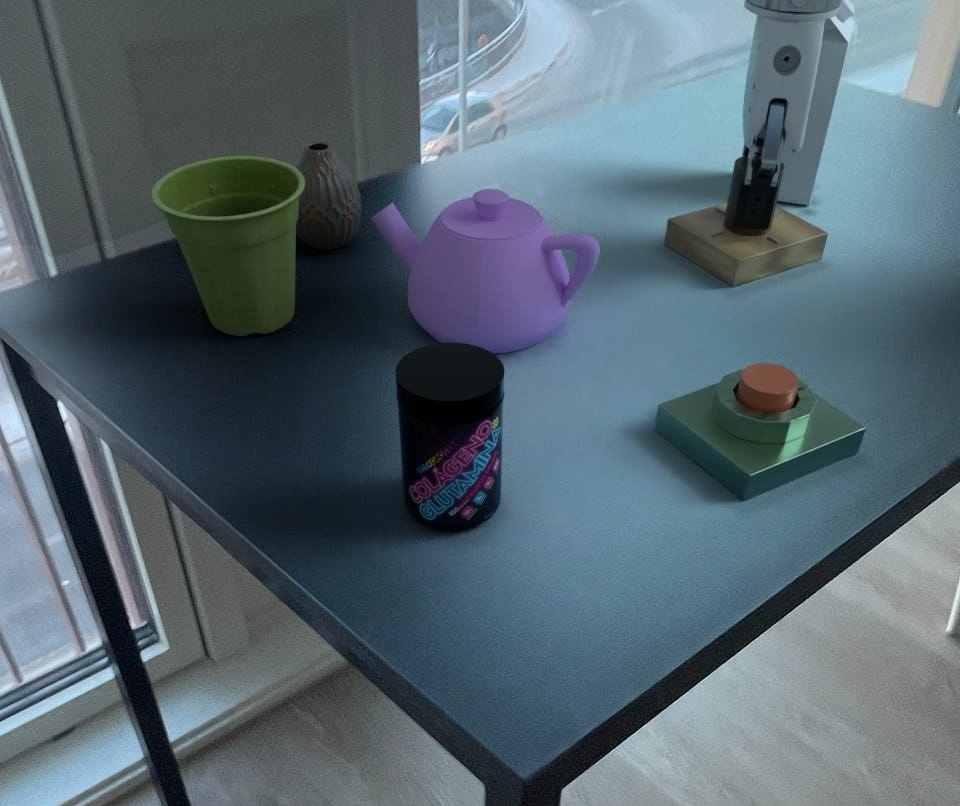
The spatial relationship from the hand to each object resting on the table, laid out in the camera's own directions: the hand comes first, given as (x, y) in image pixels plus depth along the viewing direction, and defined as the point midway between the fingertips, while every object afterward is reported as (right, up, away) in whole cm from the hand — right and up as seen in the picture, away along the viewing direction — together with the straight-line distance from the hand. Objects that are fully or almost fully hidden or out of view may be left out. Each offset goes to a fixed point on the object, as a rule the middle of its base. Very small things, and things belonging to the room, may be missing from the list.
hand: (750, 213), depth 93 cm
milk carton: (+6, +8, +13) cm, 16 cm away
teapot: (-25, -12, -6) cm, 28 cm away
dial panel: (0, -3, +3) cm, 4 cm away
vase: (-40, -1, +4) cm, 40 cm away
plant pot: (-45, -12, -6) cm, 47 cm away
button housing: (-5, -25, -19) cm, 31 cm away
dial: (0, -1, +1) cm, 1 cm away
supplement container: (-27, -30, -24) cm, 47 cm away
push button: (-5, -22, -21) cm, 31 cm away
